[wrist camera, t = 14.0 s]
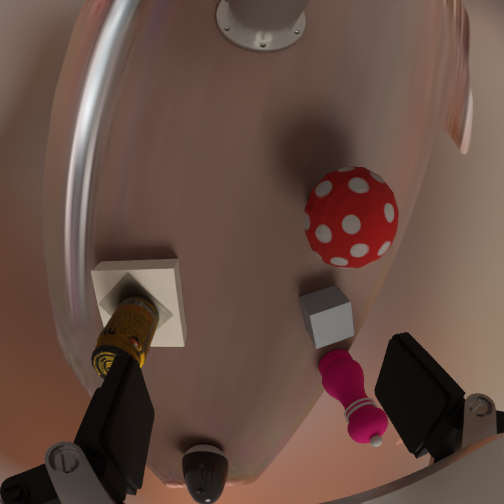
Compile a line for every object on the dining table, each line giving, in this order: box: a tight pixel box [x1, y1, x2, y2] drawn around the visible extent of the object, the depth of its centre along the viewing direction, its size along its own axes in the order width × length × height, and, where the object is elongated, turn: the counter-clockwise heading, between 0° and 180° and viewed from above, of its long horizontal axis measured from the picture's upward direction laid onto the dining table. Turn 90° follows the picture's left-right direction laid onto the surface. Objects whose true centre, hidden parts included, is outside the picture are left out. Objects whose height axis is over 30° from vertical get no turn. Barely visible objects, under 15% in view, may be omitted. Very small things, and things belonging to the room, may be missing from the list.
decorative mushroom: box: [305, 167, 399, 269], centre depth 32 cm, size 11×11×15 cm
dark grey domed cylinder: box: [182, 444, 228, 504], centre depth 45 cm, size 10×10×15 cm
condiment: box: [91, 273, 173, 379], centre depth 31 cm, size 7×8×12 cm
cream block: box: [91, 259, 187, 347], centre depth 38 cm, size 12×12×4 cm
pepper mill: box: [319, 349, 388, 447], centre depth 38 cm, size 7×7×20 cm
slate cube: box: [299, 285, 354, 349], centre depth 41 cm, size 6×6×6 cm
